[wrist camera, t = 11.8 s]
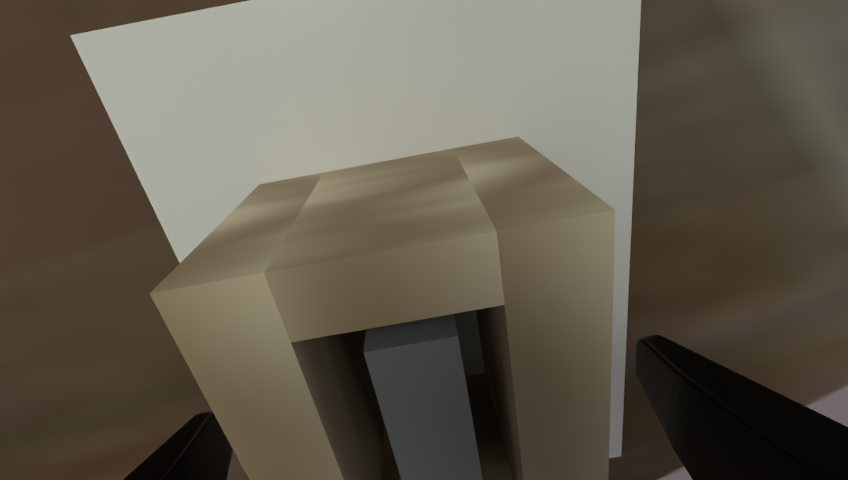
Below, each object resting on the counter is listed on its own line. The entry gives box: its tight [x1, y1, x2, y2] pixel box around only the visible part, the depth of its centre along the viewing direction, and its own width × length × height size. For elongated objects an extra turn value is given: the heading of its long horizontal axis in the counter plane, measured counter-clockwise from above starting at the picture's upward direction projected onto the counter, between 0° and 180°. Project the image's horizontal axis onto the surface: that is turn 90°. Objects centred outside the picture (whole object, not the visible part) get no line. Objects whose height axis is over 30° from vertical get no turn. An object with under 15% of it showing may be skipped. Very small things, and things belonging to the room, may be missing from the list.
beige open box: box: [150, 137, 615, 480], centre depth 10 cm, size 6×8×5 cm
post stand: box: [70, 0, 641, 480], centre depth 10 cm, size 16×12×6 cm
